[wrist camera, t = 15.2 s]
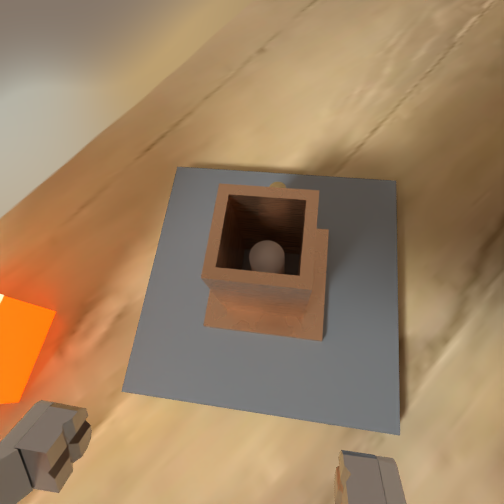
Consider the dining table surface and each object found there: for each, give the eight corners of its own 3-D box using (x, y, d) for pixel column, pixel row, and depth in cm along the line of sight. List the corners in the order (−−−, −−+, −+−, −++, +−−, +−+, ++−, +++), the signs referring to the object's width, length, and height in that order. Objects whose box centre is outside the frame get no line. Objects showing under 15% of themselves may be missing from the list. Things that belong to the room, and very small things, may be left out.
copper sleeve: (204, 326, 26) (168, 301, 18) (223, 223, 29) (199, 161, 21) (321, 341, 25) (340, 322, 17) (327, 232, 28) (346, 170, 20)
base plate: (130, 390, 27) (84, 393, 20) (181, 175, 33) (159, 130, 27) (393, 432, 24) (430, 449, 18) (390, 189, 31) (417, 143, 25)
